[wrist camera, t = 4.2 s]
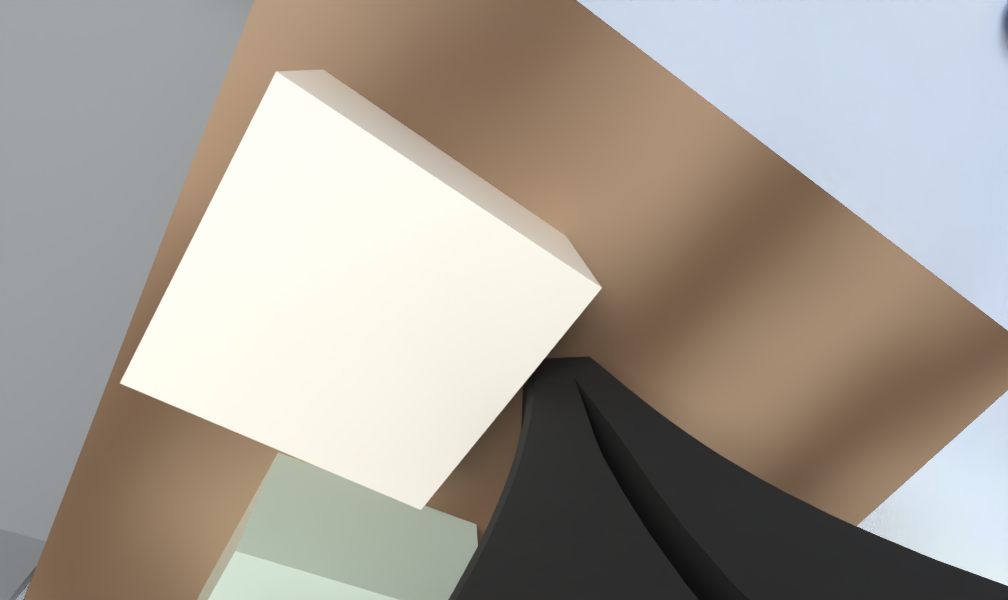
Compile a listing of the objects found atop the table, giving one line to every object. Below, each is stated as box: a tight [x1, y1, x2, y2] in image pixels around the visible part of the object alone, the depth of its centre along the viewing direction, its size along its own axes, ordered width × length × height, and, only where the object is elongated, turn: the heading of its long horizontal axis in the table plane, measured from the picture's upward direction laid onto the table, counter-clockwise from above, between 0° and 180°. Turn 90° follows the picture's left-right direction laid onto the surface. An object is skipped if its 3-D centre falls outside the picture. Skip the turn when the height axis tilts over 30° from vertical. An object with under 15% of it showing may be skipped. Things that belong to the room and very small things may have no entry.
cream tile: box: [120, 70, 602, 510], centre depth 9 cm, size 5×5×2 cm
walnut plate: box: [24, 0, 1008, 600], centre depth 13 cm, size 18×18×2 cm
